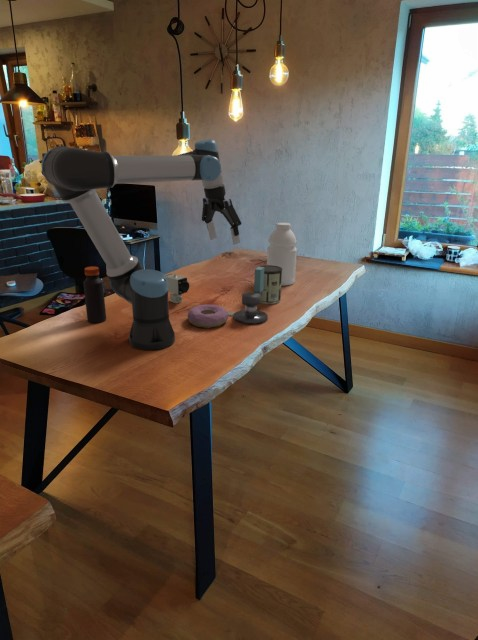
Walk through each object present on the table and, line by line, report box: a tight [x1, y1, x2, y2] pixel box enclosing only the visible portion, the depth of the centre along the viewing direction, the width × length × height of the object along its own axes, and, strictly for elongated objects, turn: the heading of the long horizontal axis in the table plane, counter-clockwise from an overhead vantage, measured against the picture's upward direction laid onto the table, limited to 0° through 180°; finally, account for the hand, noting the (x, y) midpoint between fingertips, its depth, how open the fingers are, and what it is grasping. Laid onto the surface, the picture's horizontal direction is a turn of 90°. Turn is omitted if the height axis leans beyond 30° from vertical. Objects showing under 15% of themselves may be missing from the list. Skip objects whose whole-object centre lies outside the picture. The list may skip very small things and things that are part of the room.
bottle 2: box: [266, 222, 298, 287], centre depth 214 cm, size 14×14×28 cm
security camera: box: [165, 273, 190, 304], centre depth 188 cm, size 6×12×12 cm, turn 53°
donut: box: [187, 304, 229, 329], centre depth 170 cm, size 16×15×5 cm
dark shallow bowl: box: [227, 305, 269, 326], centre depth 174 cm, size 13×16×6 cm
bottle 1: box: [82, 266, 107, 324], centre depth 166 cm, size 7×7×20 cm
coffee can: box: [259, 264, 282, 305], centre depth 192 cm, size 10×10×14 cm
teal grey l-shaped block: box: [241, 266, 264, 306], centre depth 172 cm, size 14×7×12 cm, turn 157°
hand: (224, 241), depth 174 cm, fingers open, 13 cm apart
